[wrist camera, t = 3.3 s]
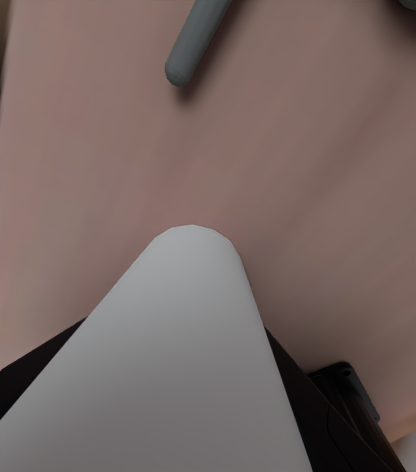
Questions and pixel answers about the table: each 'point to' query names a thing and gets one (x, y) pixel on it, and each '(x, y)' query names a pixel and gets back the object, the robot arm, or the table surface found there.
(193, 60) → the walkie-talkie
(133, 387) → the white cup
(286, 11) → the table surface
